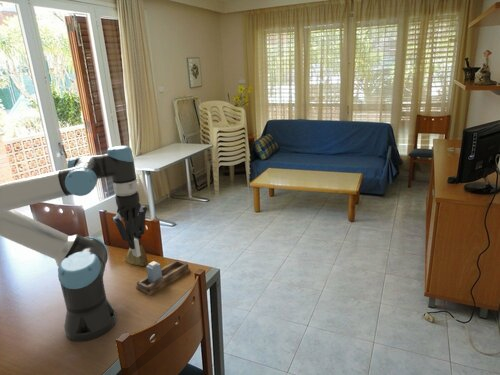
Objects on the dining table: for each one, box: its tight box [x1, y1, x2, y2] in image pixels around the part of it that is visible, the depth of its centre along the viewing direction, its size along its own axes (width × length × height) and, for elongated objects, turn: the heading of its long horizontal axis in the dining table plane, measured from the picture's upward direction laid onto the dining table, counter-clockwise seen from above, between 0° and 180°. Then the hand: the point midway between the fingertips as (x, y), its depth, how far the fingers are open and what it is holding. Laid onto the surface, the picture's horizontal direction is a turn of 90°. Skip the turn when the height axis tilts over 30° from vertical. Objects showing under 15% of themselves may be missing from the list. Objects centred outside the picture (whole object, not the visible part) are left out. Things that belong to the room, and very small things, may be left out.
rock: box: [124, 244, 149, 267], centre depth 153 cm, size 11×9×10 cm
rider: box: [145, 260, 162, 284], centre depth 136 cm, size 4×3×8 cm
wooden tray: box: [135, 259, 191, 296], centre depth 141 cm, size 20×8×3 cm, turn 143°
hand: (136, 255), depth 128 cm, fingers closed
